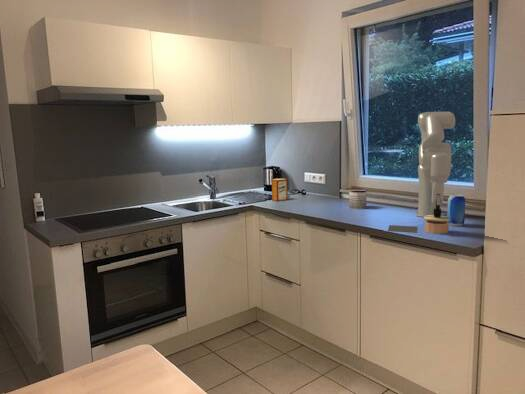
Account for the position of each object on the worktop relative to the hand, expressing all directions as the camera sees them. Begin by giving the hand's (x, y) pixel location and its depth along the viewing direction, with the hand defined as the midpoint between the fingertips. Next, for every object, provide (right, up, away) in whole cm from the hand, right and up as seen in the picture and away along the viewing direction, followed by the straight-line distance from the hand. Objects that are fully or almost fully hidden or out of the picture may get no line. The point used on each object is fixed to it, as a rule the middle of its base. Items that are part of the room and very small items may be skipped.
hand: (437, 215), depth 213 cm
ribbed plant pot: (-24, +2, +71) cm, 74 cm away
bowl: (0, -8, +1) cm, 8 cm away
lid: (0, -2, 0) cm, 2 cm away
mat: (-15, -7, +7) cm, 18 cm away
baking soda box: (-74, +7, +106) cm, 129 cm away
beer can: (+16, -6, +16) cm, 23 cm away
